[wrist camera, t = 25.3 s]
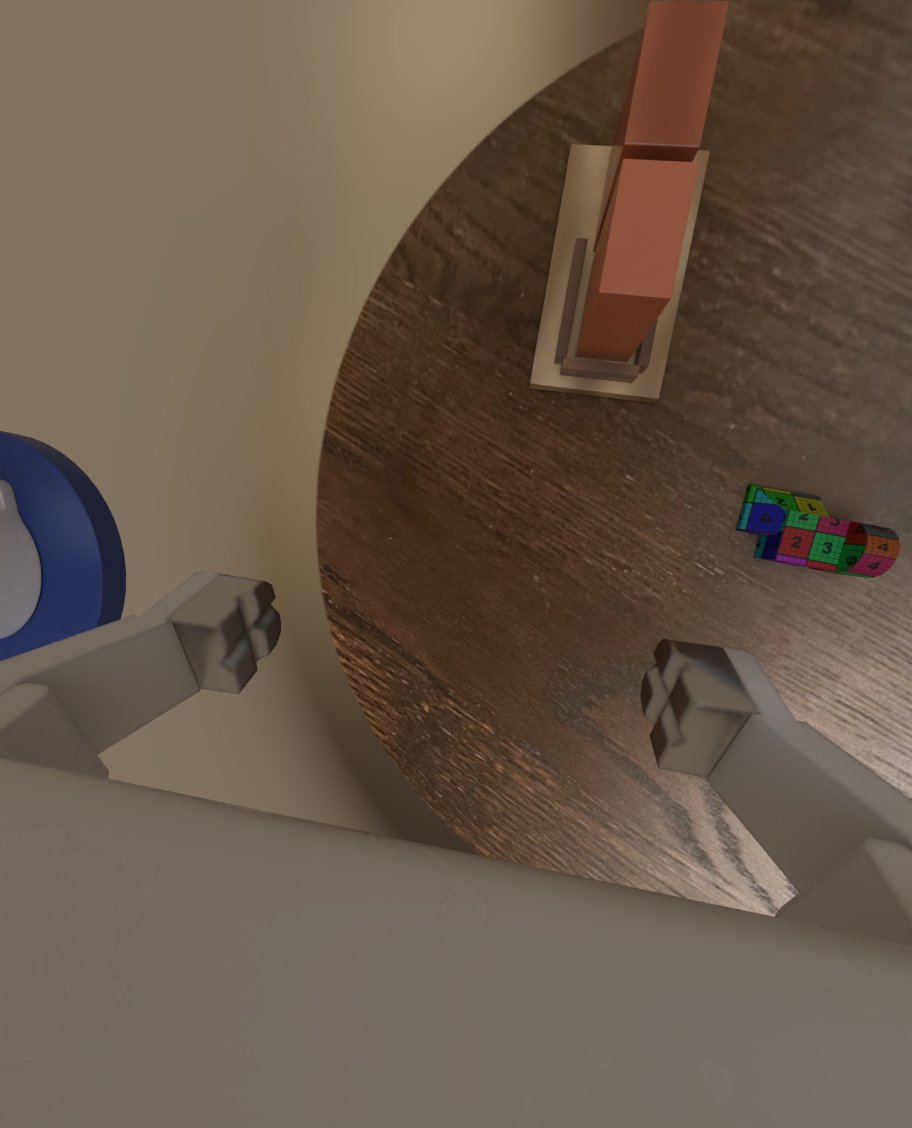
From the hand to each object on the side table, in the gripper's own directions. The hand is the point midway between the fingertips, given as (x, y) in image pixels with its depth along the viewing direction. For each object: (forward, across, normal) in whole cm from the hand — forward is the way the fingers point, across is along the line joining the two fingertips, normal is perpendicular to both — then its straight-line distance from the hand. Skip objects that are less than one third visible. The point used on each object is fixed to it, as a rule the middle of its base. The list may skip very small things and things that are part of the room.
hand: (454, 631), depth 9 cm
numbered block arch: (+26, -23, +8) cm, 36 cm away
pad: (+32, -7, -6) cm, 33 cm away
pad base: (+34, -7, -8) cm, 36 cm away
